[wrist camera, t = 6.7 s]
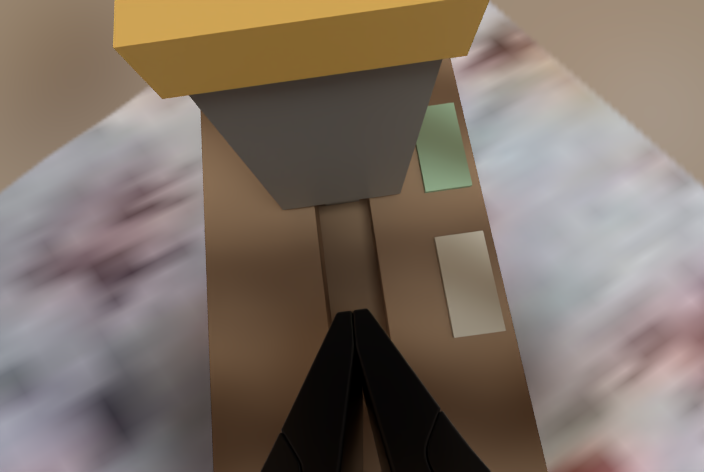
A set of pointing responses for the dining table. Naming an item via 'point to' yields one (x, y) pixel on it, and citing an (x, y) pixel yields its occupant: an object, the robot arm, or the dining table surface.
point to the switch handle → (303, 82)
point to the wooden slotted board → (363, 296)
